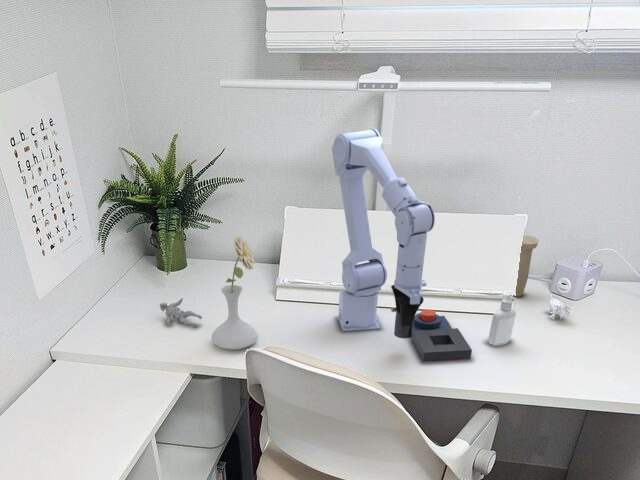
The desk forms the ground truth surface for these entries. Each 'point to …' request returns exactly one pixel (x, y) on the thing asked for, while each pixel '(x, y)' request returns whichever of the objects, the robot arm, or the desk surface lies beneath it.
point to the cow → (558, 308)
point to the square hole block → (452, 351)
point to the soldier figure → (178, 313)
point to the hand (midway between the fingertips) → (404, 320)
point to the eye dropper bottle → (502, 323)
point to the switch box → (430, 323)
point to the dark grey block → (399, 329)
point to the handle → (525, 262)
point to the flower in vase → (236, 307)
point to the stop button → (427, 315)
